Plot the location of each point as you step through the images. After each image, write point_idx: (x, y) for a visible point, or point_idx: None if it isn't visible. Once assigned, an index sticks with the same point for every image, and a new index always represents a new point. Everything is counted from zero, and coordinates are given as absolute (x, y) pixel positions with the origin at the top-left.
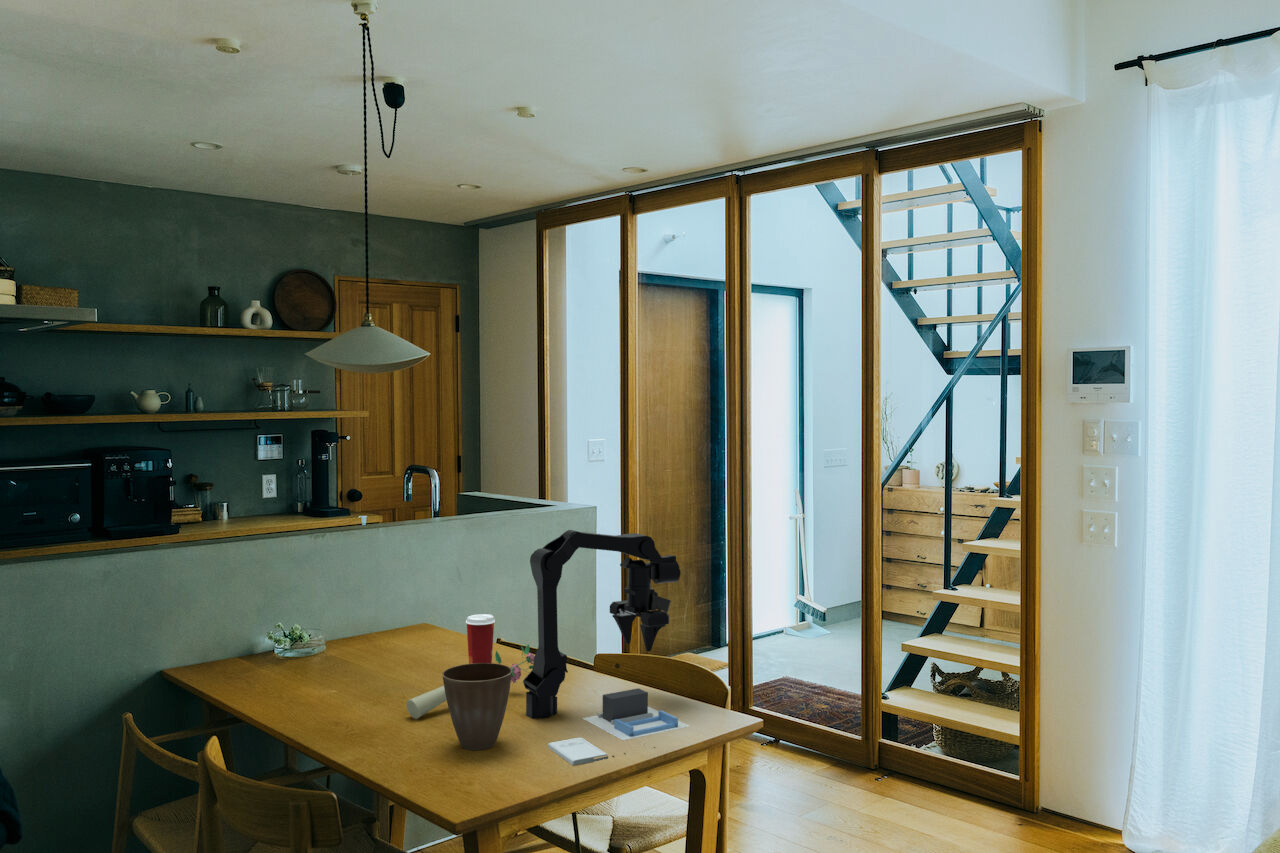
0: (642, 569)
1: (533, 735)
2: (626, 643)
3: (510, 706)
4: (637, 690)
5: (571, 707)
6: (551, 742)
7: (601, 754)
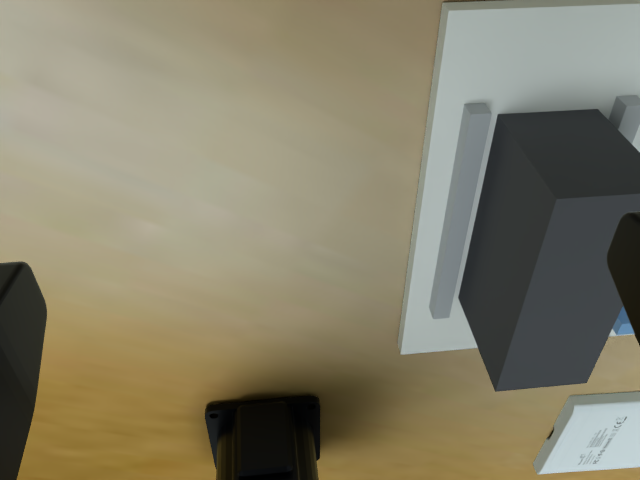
0: None
1: (415, 471)
2: (42, 316)
3: (66, 467)
4: (588, 226)
5: (181, 318)
6: (541, 470)
7: None
